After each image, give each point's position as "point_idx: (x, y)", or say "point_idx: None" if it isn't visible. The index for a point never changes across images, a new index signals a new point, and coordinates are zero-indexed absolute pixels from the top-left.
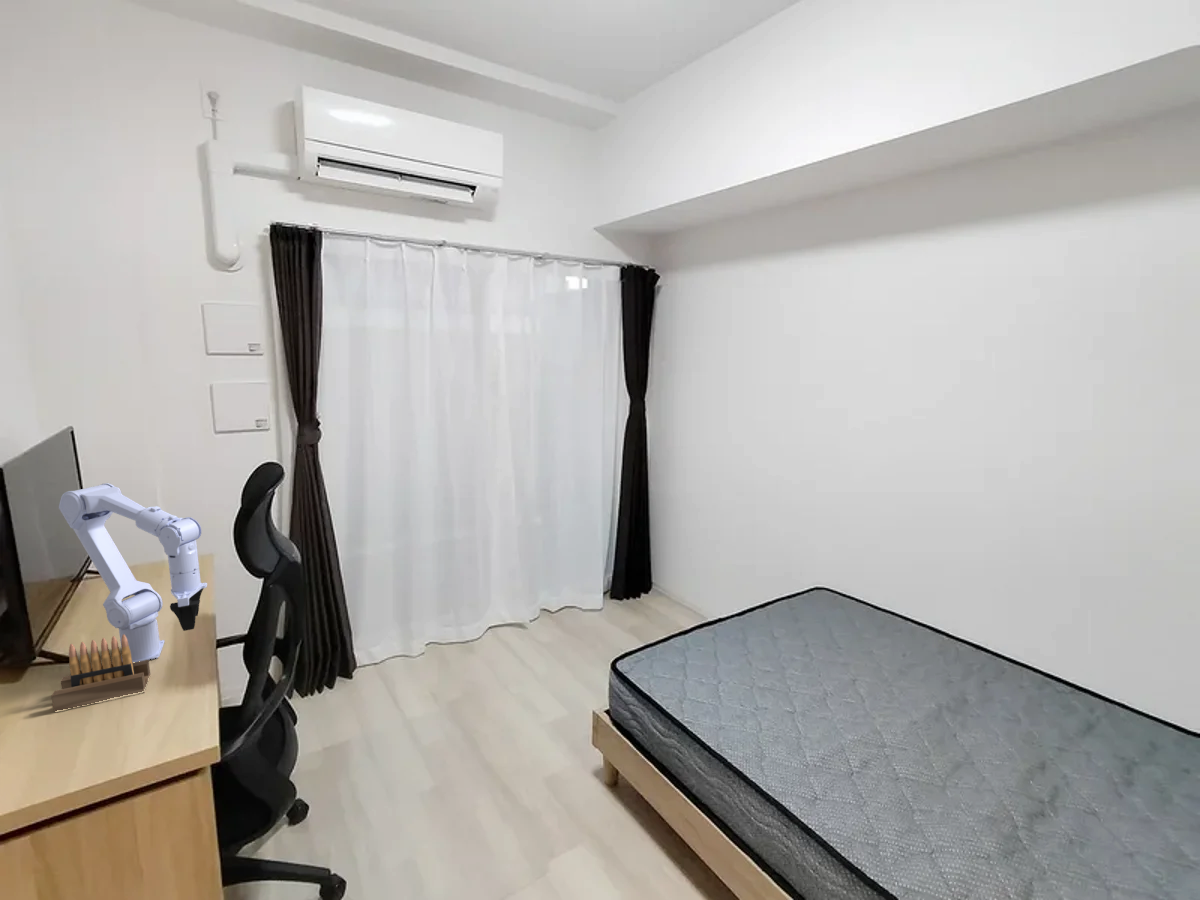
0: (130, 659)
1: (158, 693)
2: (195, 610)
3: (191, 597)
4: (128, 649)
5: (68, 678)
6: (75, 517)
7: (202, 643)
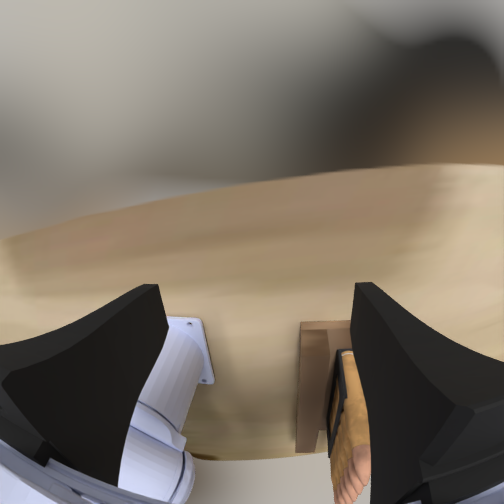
0: (363, 405)
1: (418, 287)
2: (480, 358)
3: (96, 398)
4: (366, 434)
5: (309, 447)
6: None
7: (136, 218)
